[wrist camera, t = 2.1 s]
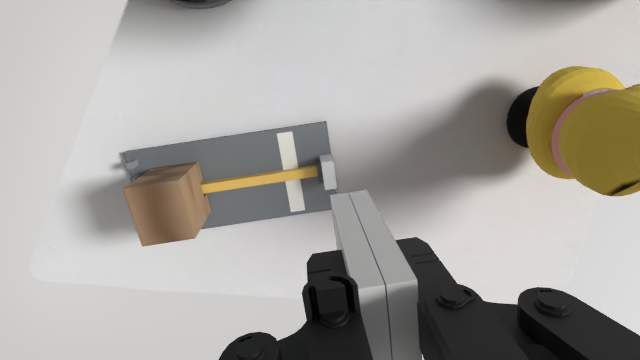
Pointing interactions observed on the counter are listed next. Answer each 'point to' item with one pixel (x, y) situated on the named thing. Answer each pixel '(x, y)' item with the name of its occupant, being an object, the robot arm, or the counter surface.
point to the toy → (582, 129)
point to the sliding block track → (253, 172)
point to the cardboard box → (168, 203)
